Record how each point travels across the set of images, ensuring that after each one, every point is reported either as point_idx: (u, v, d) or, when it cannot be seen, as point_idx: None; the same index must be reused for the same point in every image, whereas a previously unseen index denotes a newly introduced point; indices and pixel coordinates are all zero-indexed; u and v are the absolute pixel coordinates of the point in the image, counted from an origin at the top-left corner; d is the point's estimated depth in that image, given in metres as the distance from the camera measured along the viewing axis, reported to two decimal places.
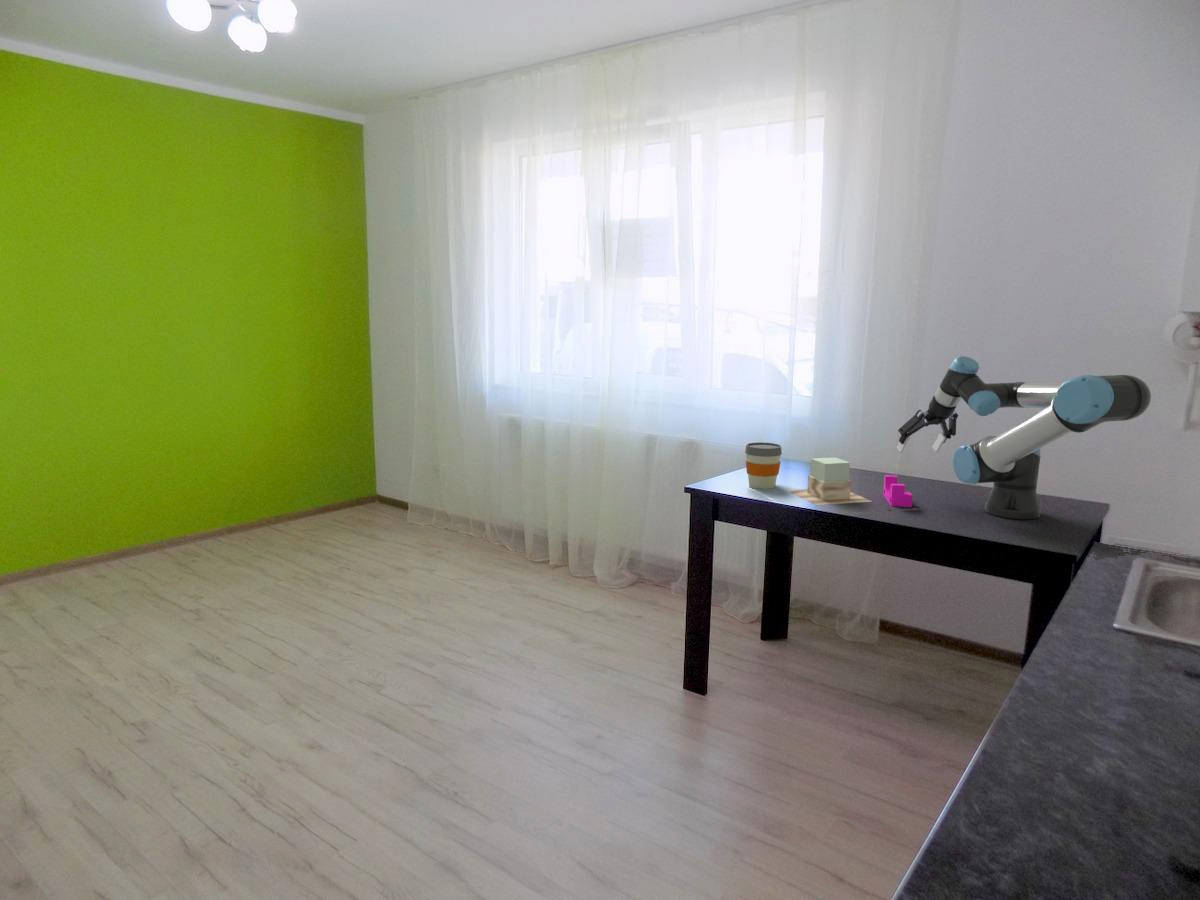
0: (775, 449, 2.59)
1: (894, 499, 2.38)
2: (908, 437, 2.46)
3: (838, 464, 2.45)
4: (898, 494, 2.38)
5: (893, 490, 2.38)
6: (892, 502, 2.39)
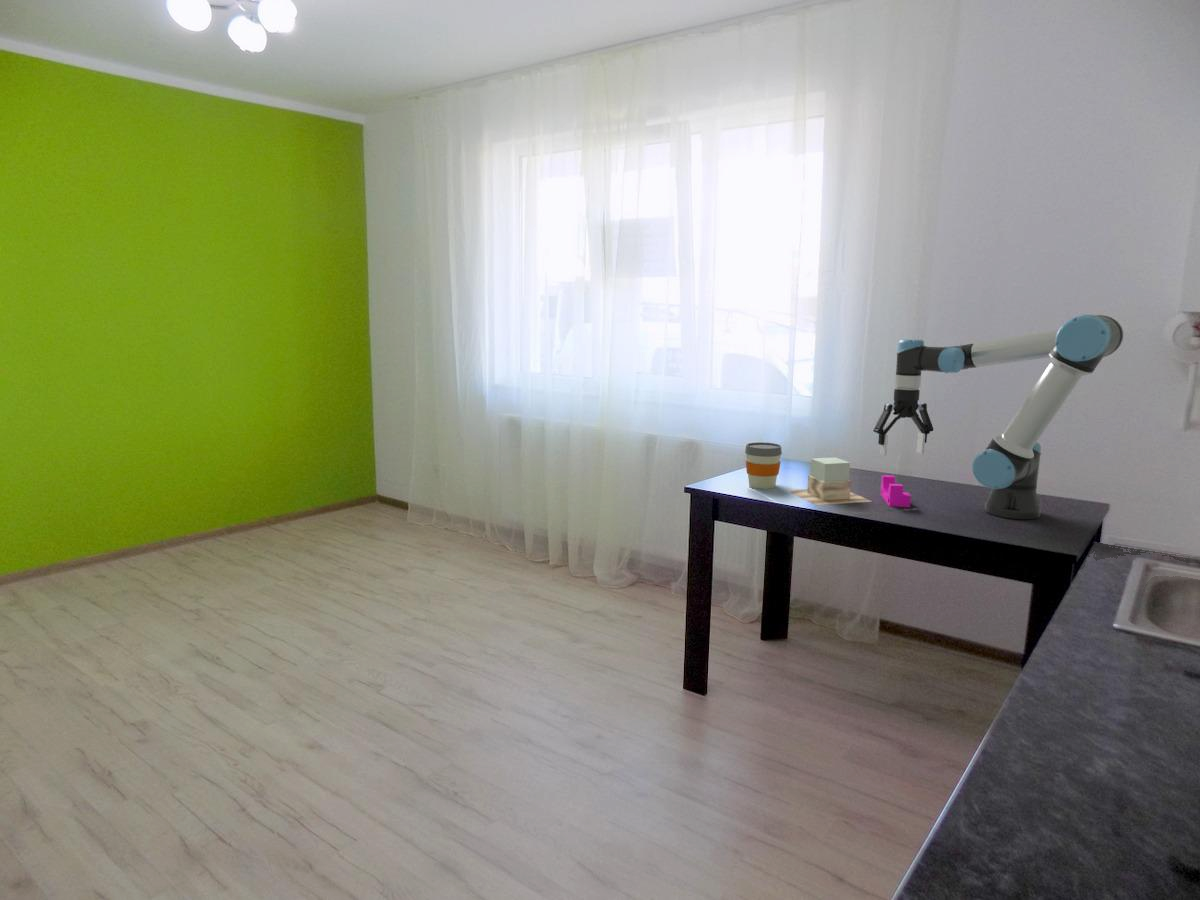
0: (775, 449, 2.59)
1: (892, 499, 2.38)
2: (886, 435, 2.39)
3: (838, 464, 2.45)
4: (896, 494, 2.38)
5: (892, 490, 2.38)
6: (890, 502, 2.38)
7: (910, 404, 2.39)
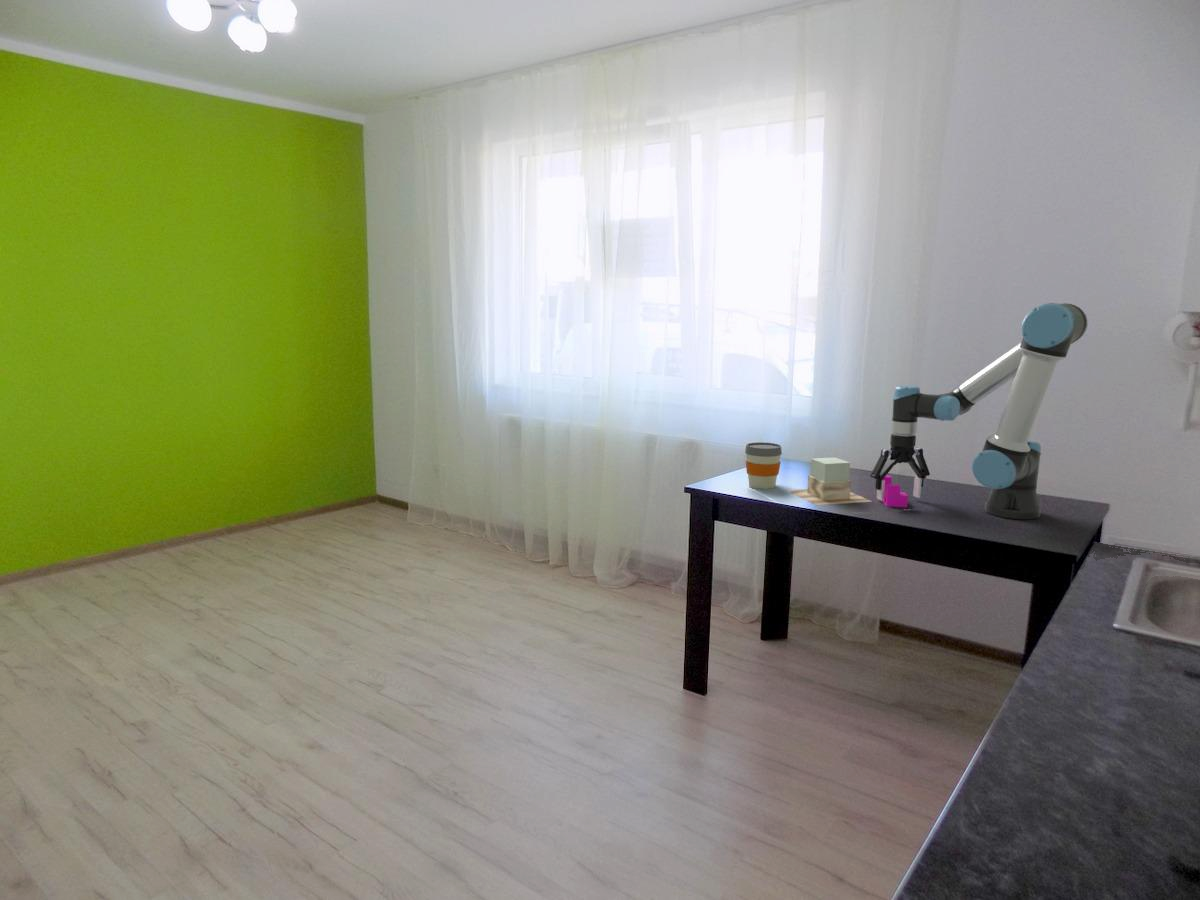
0: (775, 449, 2.59)
1: (890, 500, 2.38)
2: (883, 480, 2.42)
3: (838, 464, 2.45)
4: (893, 495, 2.37)
5: (889, 491, 2.37)
6: (887, 502, 2.38)
7: (906, 450, 2.42)
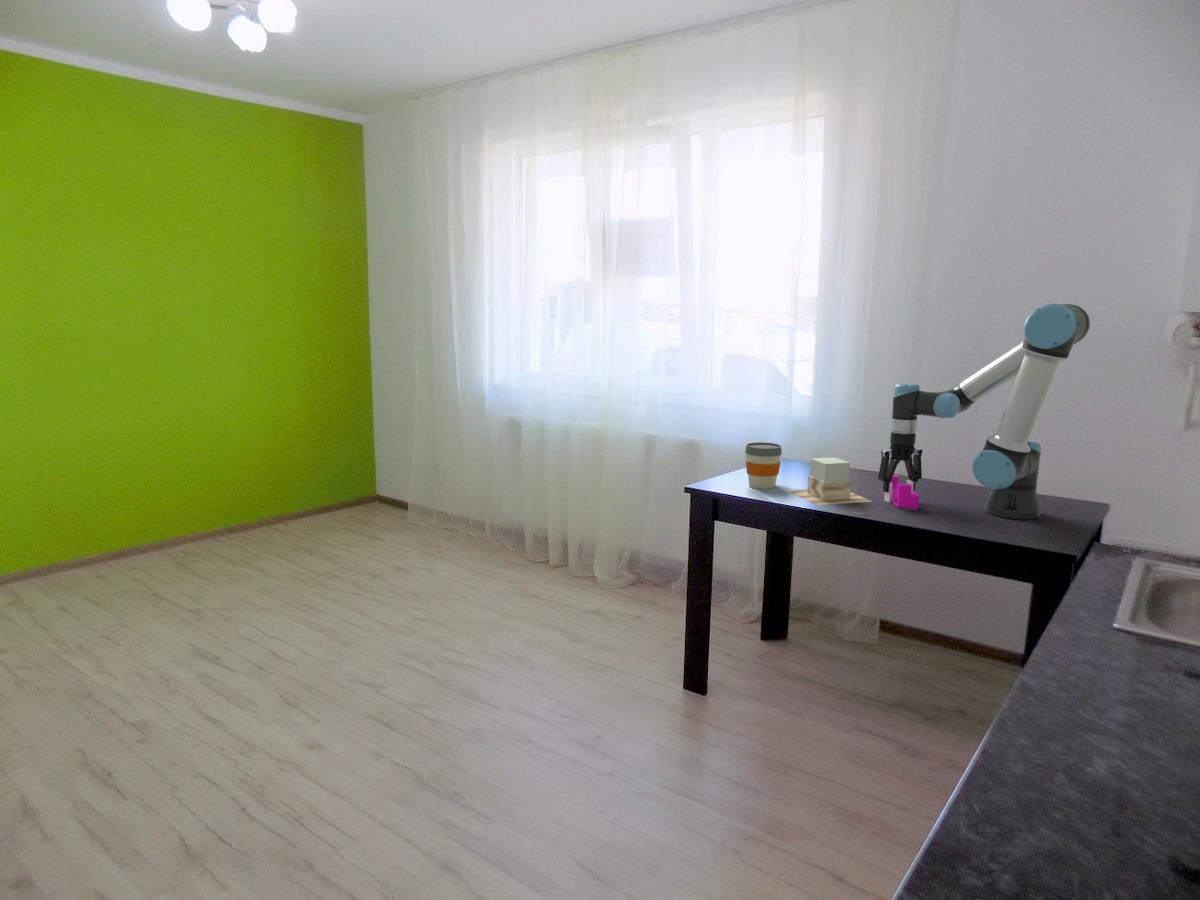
0: (775, 449, 2.59)
1: (901, 499, 2.37)
2: (890, 483, 2.42)
3: (838, 464, 2.45)
4: (904, 494, 2.36)
5: (900, 490, 2.36)
6: (899, 502, 2.37)
7: (908, 445, 2.41)
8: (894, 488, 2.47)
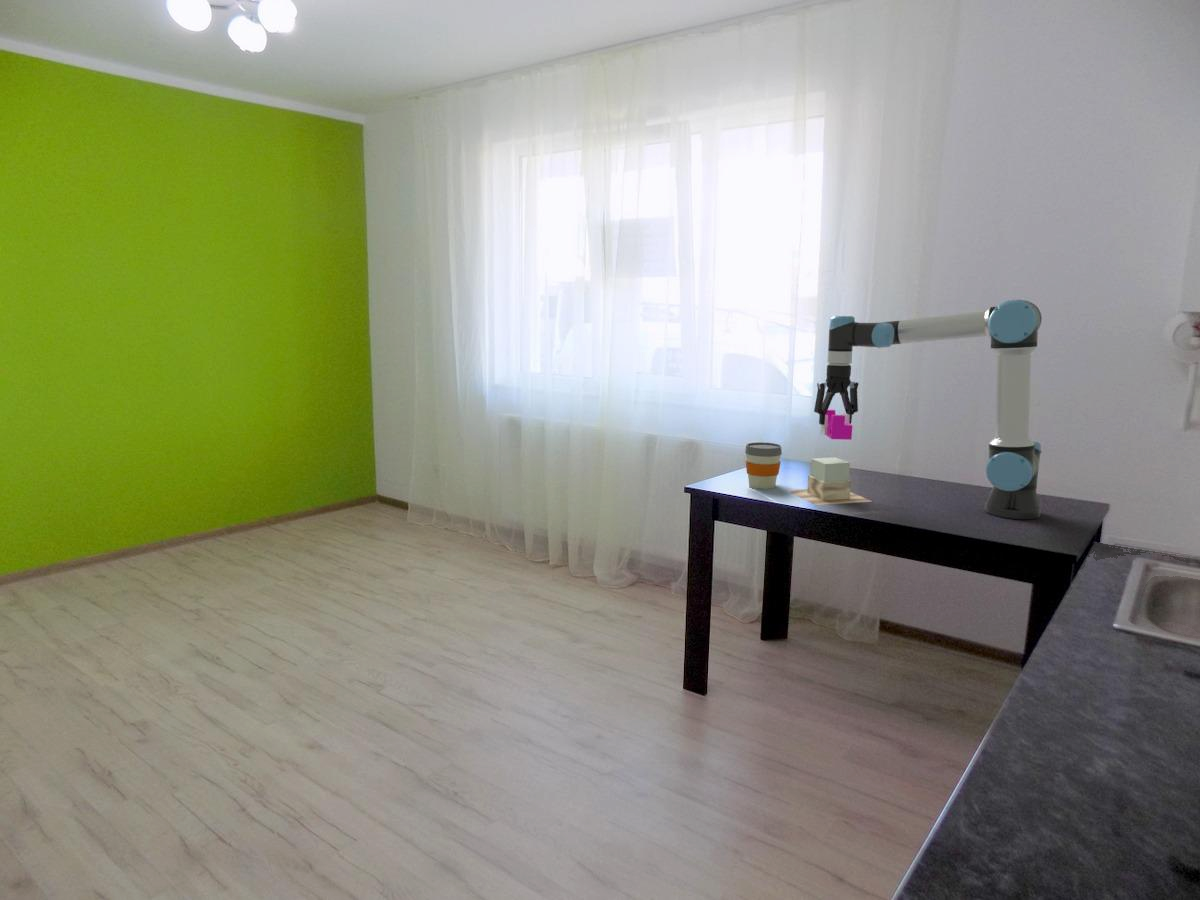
0: (775, 449, 2.59)
1: (835, 430, 2.39)
2: (826, 415, 2.44)
3: (838, 464, 2.45)
4: (838, 425, 2.38)
5: (834, 421, 2.38)
6: (833, 433, 2.39)
7: (843, 378, 2.43)
8: None
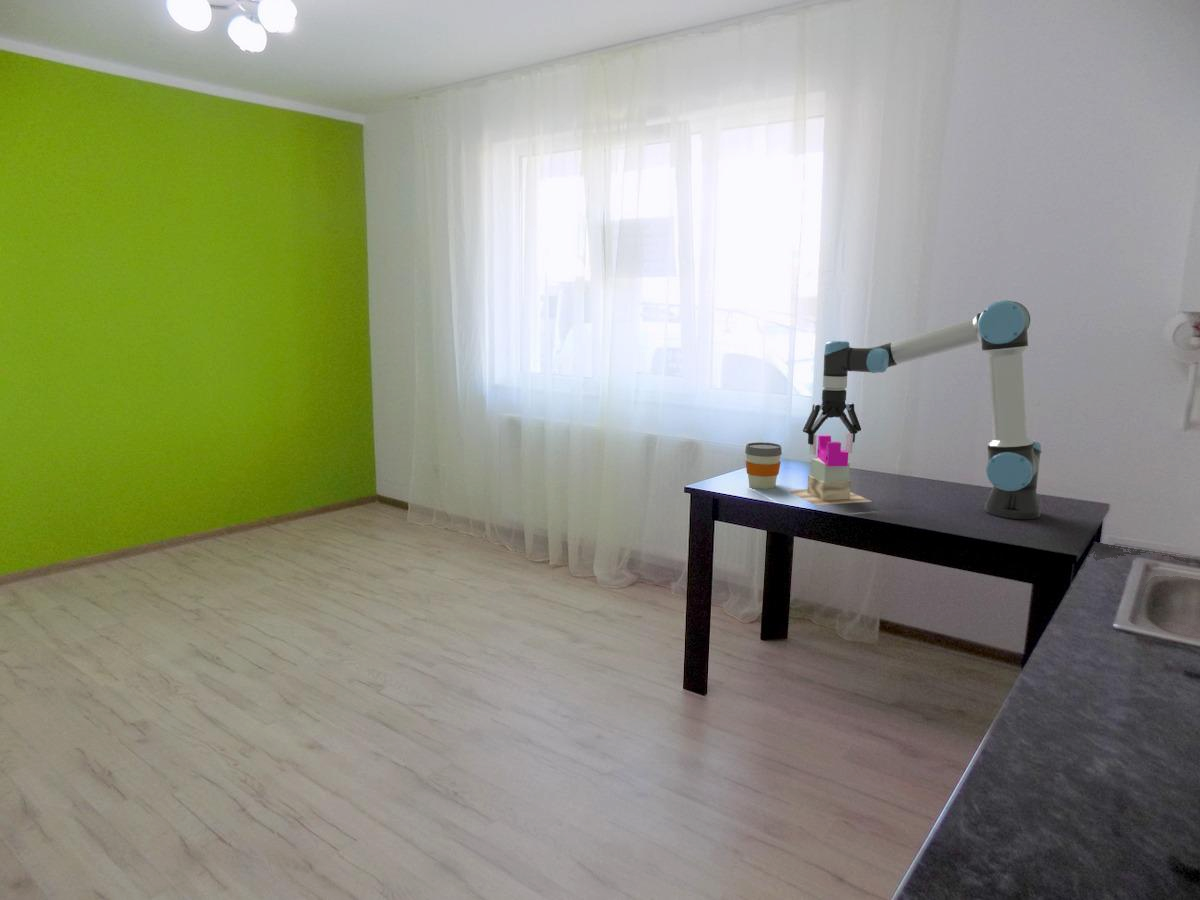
0: (775, 449, 2.59)
1: (831, 457, 2.40)
2: (815, 435, 2.45)
3: None
4: (834, 452, 2.40)
5: (830, 448, 2.40)
6: (829, 460, 2.41)
7: (838, 404, 2.45)
8: None
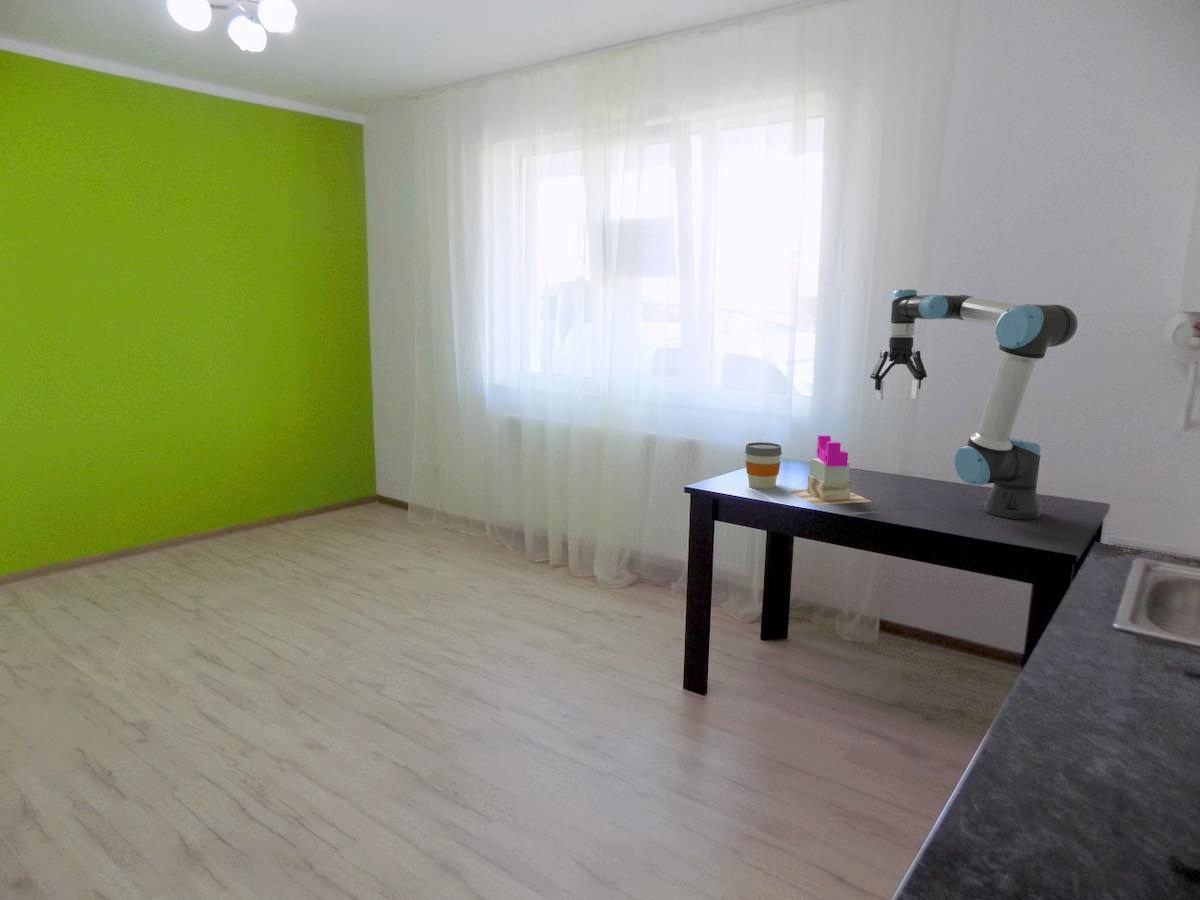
0: (775, 449, 2.59)
1: (830, 457, 2.40)
2: None
3: None
4: (834, 452, 2.40)
5: (830, 448, 2.40)
6: (828, 460, 2.41)
7: (904, 351, 2.53)
8: None
